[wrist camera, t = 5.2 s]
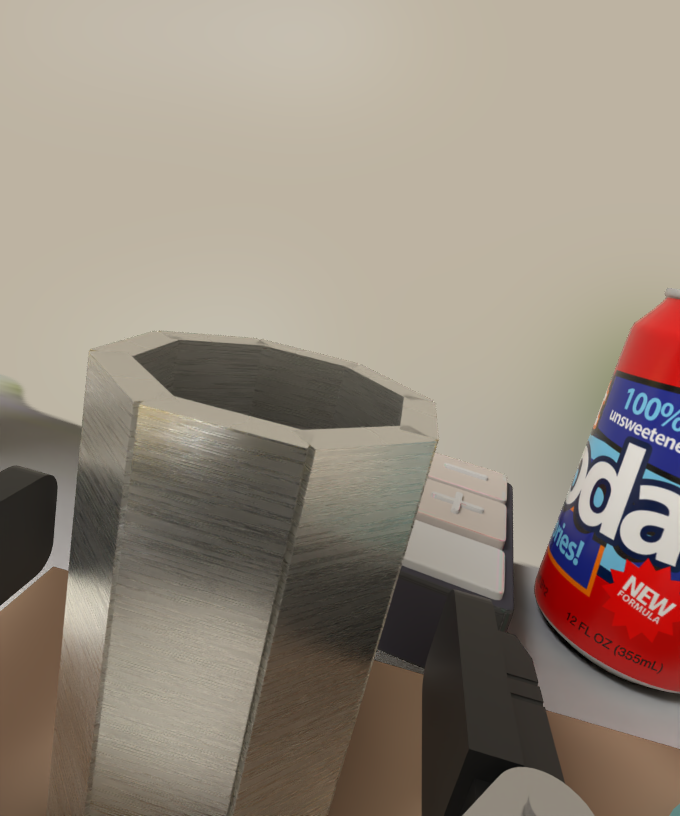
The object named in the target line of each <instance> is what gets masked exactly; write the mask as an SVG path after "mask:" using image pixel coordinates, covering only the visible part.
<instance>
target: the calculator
mask: <svg viewBox="0 0 680 816" xmlns="http://www.w3.org/2000/svg"><path fill="white" fill-rule="evenodd" d="M512 490H513V489H512V486H511V485H510V484H509V483H507V477H506V475H504V474H502V473H499V472H496V471H493V470H489V469H486V468H483V467H480V466H477V465H474V464H471V463H468V462H464V461H461V460H458V459H455V458H452V457H449V456H446V455H442V454H439V453H436V452H435V454H434V458H433V461H432V464H431V468H430V471H429V475H428V478H427V481H426V485H425V488H424V492H423V495H422V498H421V502H420V505H419V508H418V512H417V515H416V519H415V522H414V525H413V529H412V532H411V536H410V539H409V542H408V546H407V549H406V552H405V556H404V559H403V563H402V566H401V569H400V573H399V576H398V580H397V583H396V586H395V590H394V593H393V596H392V600H391V603H390V607H389V610H388V613H387V617H386V620H385V624H384V627H383V630H382V634H381V637H380V640H379V644H378V647H377V649H378V650H381V651H383V652H386V653H388V654H390V655H393V656H395V657H398V658H400V659H402V660H405V661H407V662H410V663H412V664H415V665H417V666H419V667H422V668H424V669H425V665H426V661H427V657H428V654H429V650H430V647H431V644H432V641H433V638H434V635H435V632H436V629H437V626H438V623H439V620H440V617H441V614H442V611H443V608H444V605H445V602H446V599H447V597H448V594H449V592H450V591H451V590H452V589H455V590H458V591H462V592H465V593H469V594H472V595H476V596H479V597H483V598H487V599H490V600H491V601H492V603H493V607H494V612H495V617H496V622H497V627H498V631H502V632H505V633H506V631H507V628H508V626H509V623H510V620H511V617H512V614H513V610H514V584H513V491H512Z"/></svg>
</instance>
